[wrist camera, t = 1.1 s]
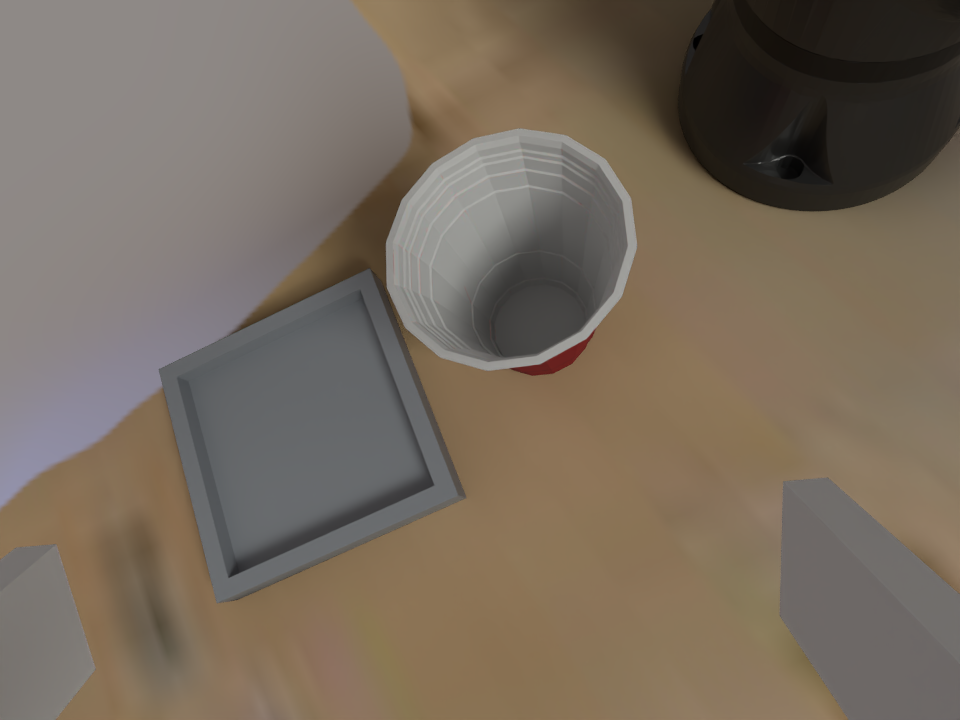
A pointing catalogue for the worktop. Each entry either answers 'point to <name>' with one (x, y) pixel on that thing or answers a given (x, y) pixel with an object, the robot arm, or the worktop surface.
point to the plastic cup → (511, 251)
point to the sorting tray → (305, 437)
